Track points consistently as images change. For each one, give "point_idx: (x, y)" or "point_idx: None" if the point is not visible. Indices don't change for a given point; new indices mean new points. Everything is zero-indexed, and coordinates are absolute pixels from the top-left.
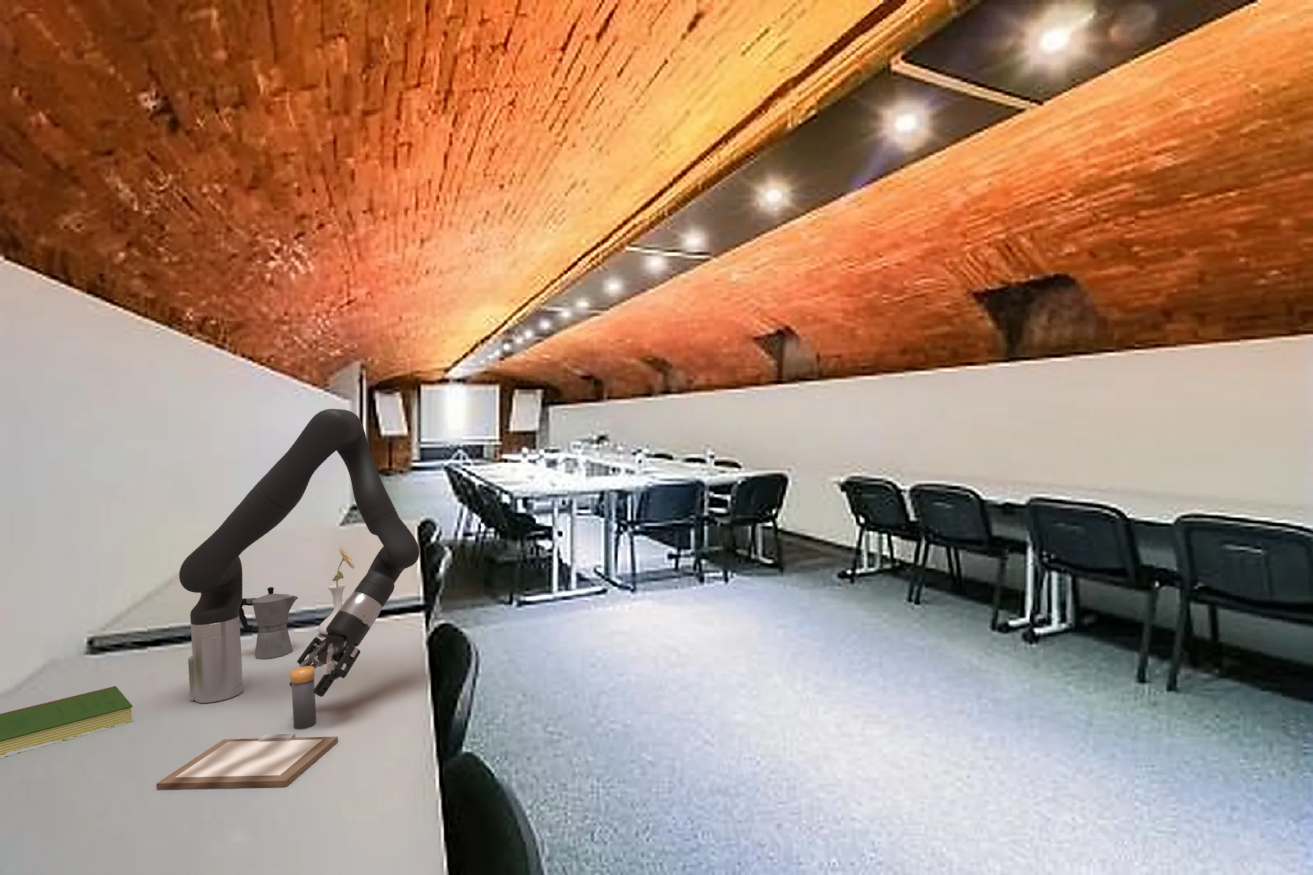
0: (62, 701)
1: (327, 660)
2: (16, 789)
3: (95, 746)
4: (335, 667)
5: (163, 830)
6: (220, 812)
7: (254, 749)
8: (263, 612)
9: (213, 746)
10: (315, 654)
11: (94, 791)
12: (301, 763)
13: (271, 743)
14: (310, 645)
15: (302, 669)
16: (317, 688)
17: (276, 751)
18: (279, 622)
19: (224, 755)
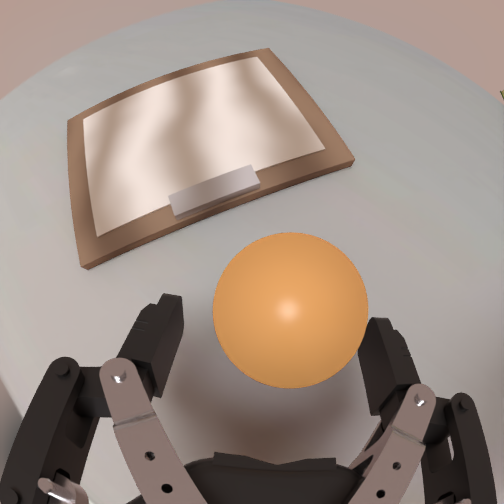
0: None
1: (154, 433)
2: (423, 52)
3: (492, 132)
4: (72, 385)
5: (153, 37)
6: (116, 68)
7: (217, 142)
8: None
9: (335, 131)
10: (367, 471)
11: (345, 46)
12: (75, 156)
13: (206, 173)
14: (483, 486)
15: (293, 310)
16: (158, 304)
17: (156, 155)
18: None
19: (257, 109)
